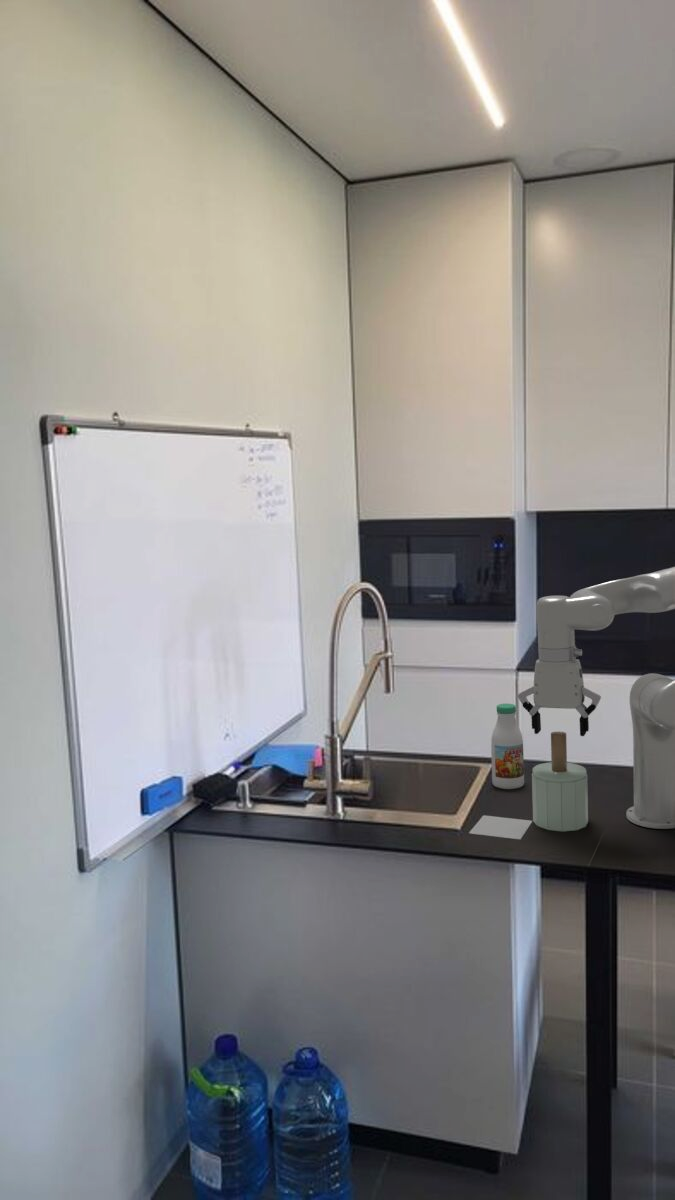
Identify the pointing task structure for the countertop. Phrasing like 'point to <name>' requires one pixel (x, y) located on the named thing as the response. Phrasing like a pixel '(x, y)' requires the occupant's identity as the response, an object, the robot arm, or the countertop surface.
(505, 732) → the milk bottle
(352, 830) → the countertop surface
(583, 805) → the cylinder with wooden dowel
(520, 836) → the mat
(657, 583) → the robot arm
